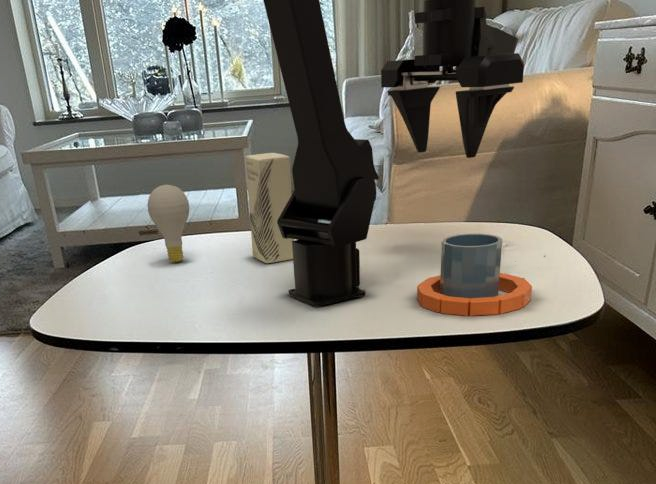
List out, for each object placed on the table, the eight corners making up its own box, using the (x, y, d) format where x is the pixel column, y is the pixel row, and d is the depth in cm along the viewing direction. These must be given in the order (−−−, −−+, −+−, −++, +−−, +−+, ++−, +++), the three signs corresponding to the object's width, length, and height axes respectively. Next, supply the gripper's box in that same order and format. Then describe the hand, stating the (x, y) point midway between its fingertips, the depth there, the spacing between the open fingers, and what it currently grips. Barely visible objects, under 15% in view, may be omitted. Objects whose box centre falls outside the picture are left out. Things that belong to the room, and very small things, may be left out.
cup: (465, 310, 76) (468, 249, 73) (428, 297, 80) (429, 240, 77) (510, 298, 78) (515, 239, 75) (471, 286, 83) (474, 231, 80)
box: (252, 257, 102) (242, 155, 95) (281, 252, 103) (274, 151, 97) (267, 265, 97) (258, 158, 91) (297, 259, 99) (291, 154, 92)
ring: (466, 323, 72) (467, 309, 71) (396, 297, 81) (396, 284, 80) (553, 300, 77) (554, 286, 76) (478, 278, 85) (478, 266, 85)
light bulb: (148, 264, 102) (135, 187, 97) (178, 256, 105) (167, 180, 100) (174, 269, 99) (162, 189, 94) (204, 260, 102) (194, 182, 97)
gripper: (570, -13, 77) (554, 151, 84) (453, 3, 91) (449, 142, 99) (485, -9, 72) (477, 164, 80) (377, 7, 87) (379, 152, 95)
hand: (445, 154), depth 89 cm, fingers open, 9 cm apart
